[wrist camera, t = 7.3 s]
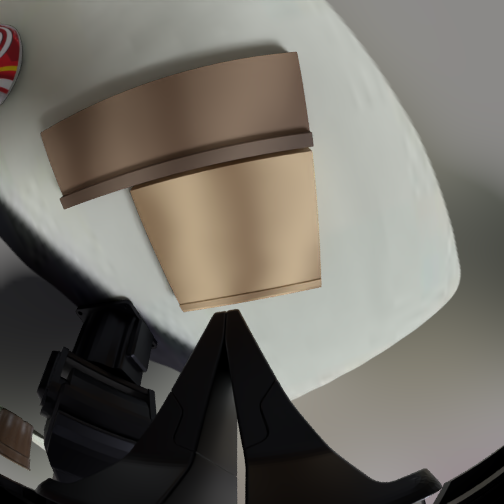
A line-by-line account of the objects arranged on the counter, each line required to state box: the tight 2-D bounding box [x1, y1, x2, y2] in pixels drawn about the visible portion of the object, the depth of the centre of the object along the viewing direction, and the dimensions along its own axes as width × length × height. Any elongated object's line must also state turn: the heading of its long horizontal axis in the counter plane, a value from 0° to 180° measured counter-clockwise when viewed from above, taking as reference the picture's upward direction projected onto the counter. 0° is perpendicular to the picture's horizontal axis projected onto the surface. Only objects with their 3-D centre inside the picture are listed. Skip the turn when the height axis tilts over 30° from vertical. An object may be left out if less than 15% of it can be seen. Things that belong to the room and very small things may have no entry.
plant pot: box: [0, 409, 33, 471], centre depth 43 cm, size 16×16×16 cm
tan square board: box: [130, 147, 321, 312], centre depth 19 cm, size 11×11×2 cm
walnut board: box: [40, 52, 314, 209], centre depth 14 cm, size 16×6×2 cm, turn 100°
